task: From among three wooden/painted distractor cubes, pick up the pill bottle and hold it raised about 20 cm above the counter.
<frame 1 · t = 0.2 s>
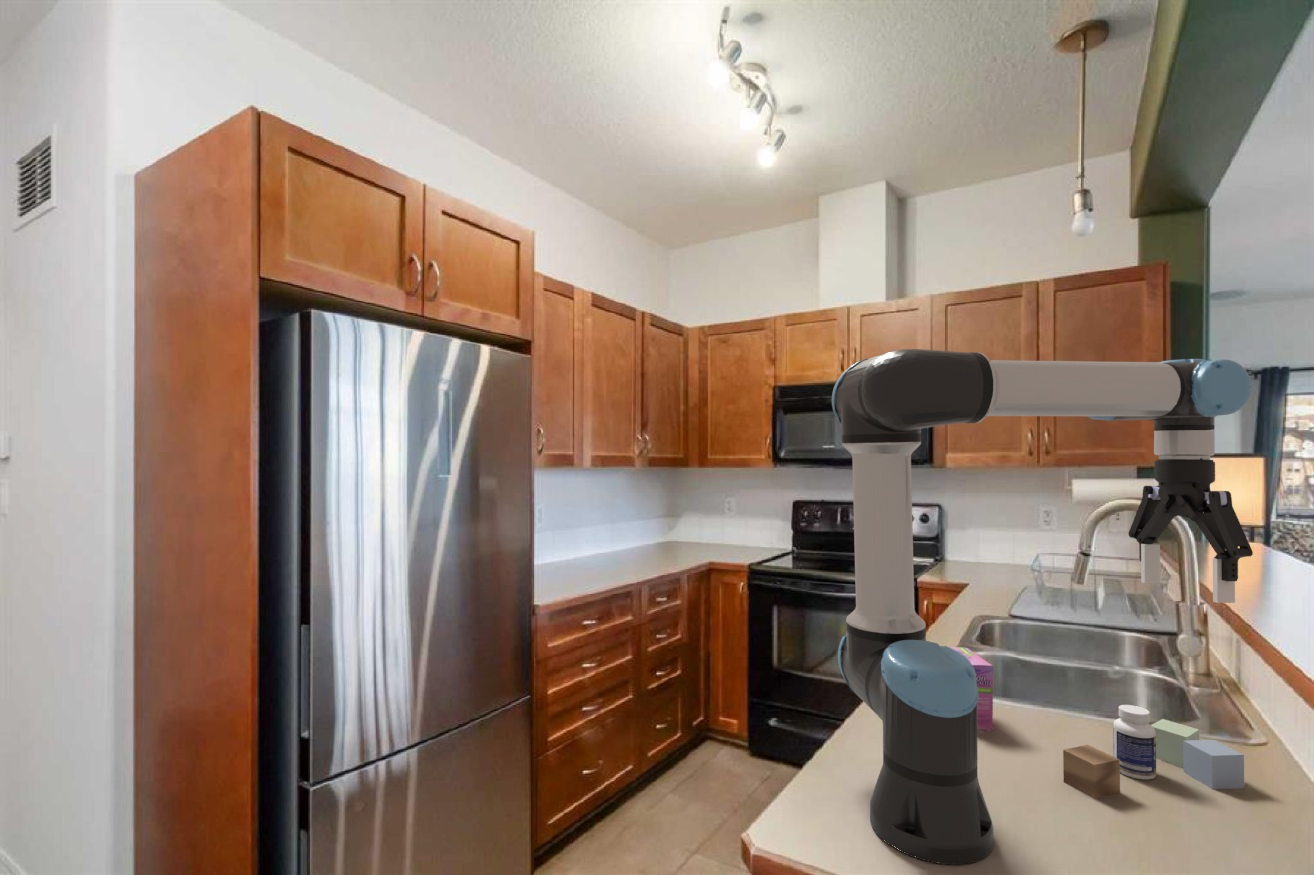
hand: (1184, 592, 104), 28 cm above the counter, fingers open, 13 cm apart
pill bottle: (1134, 773, 103), on the counter
sage cube: (1174, 758, 107), on the counter
walnut cube: (1091, 788, 98), on the counter
box: (964, 719, 123), on the counter
slate blue cube: (1213, 780, 100), on the counter
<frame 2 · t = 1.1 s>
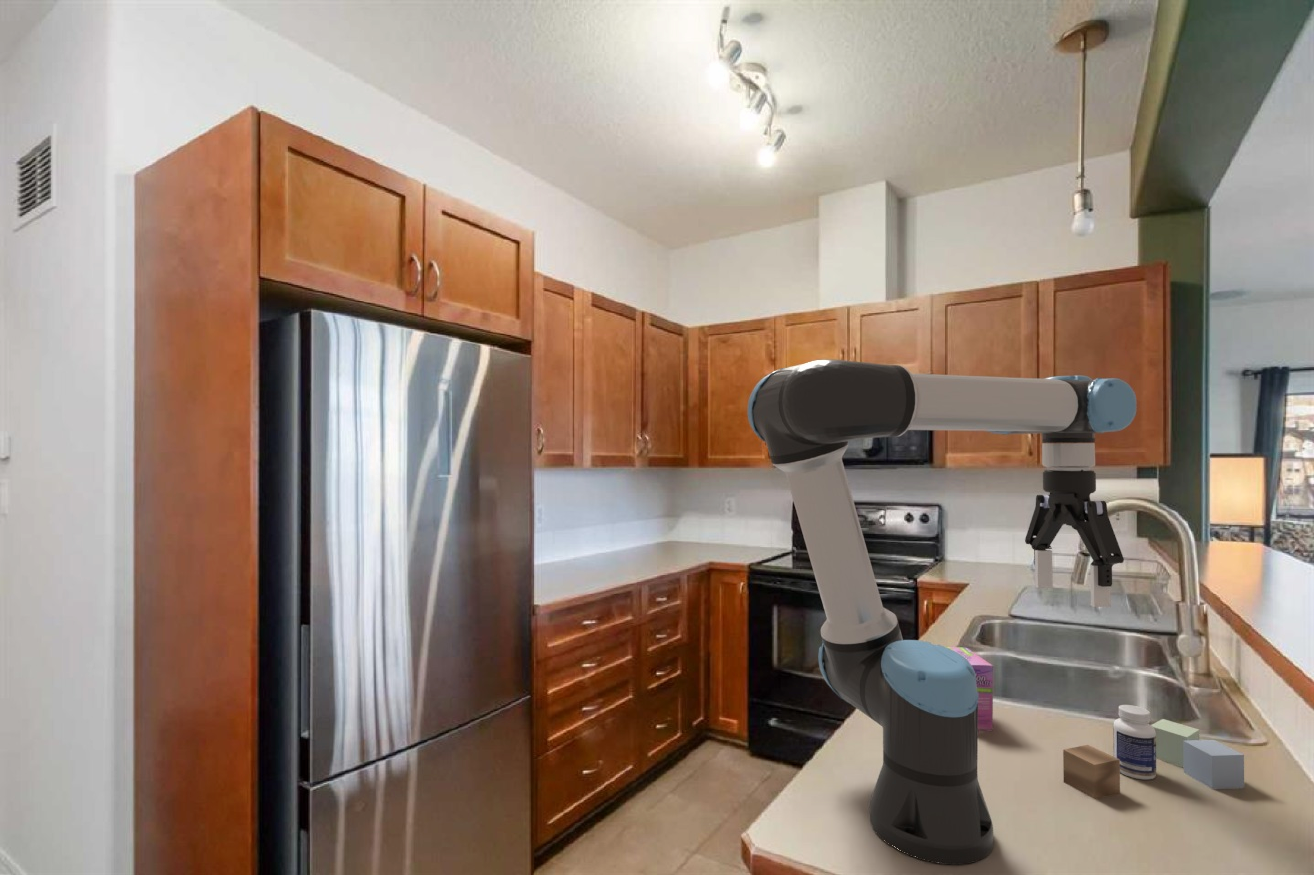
hand: (1070, 596, 110), 26 cm above the counter, fingers open, 13 cm apart
nothing on the counter moved.
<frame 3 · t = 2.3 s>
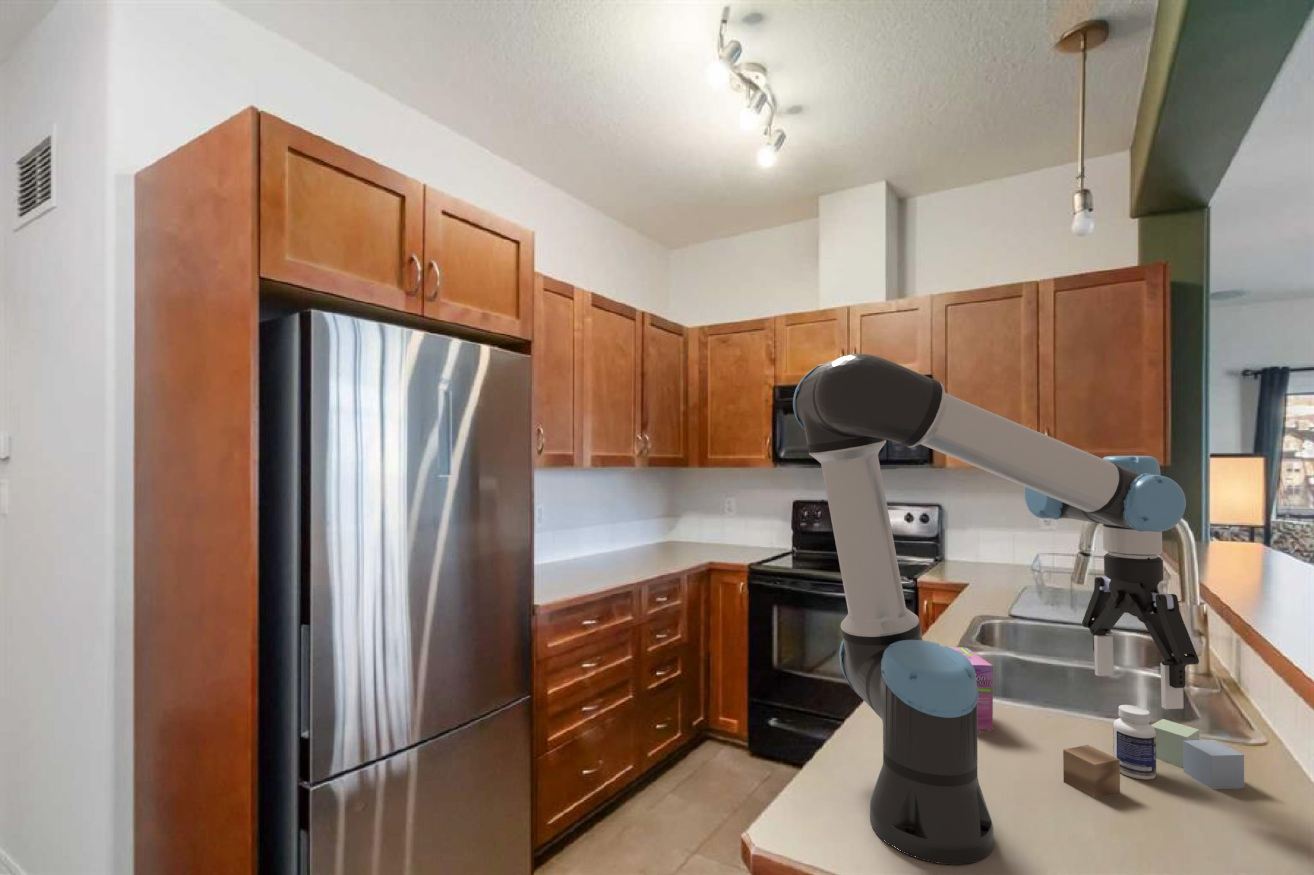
hand: (1136, 690, 103), 13 cm above the counter, fingers open, 13 cm apart
nothing on the counter moved.
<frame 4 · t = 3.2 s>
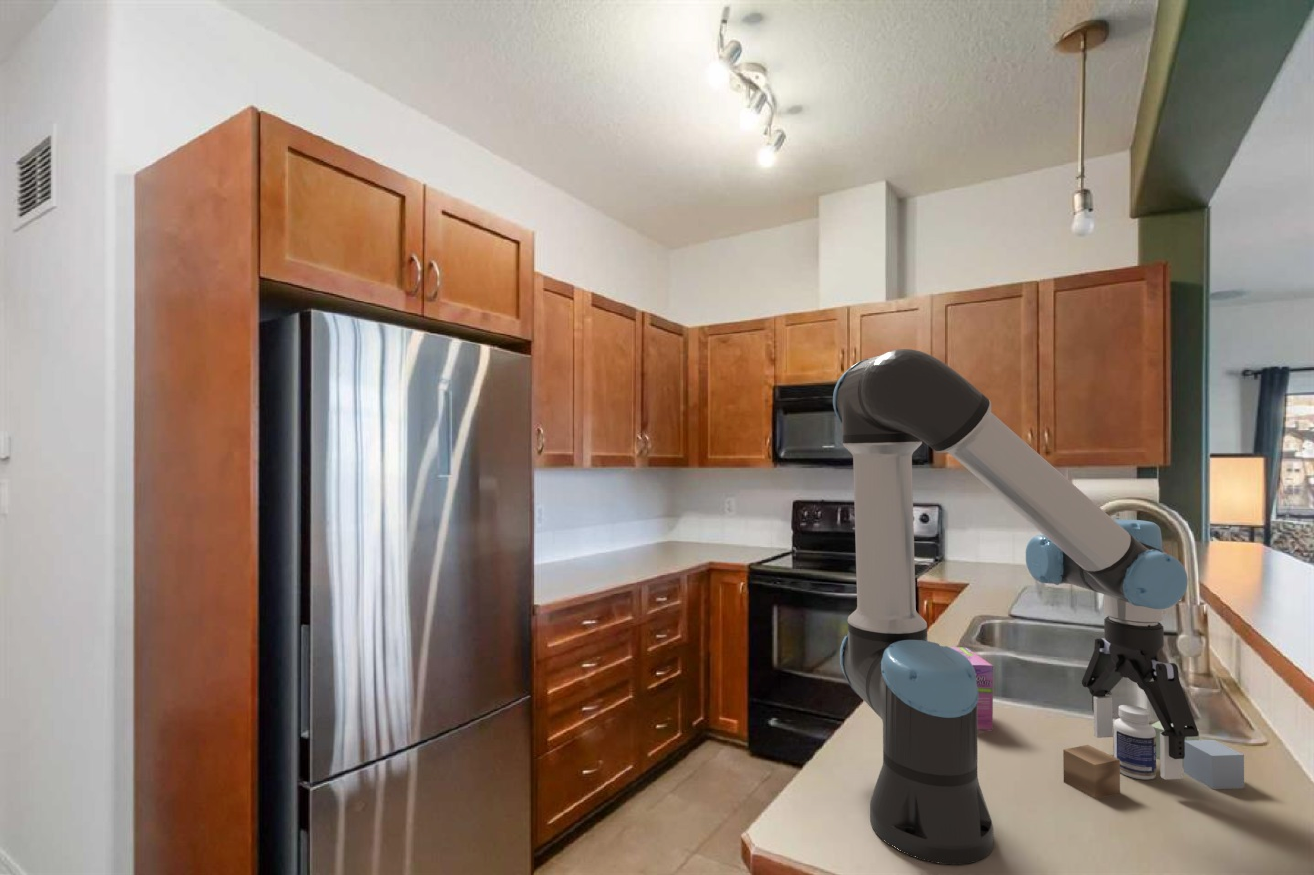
hand: (1135, 756, 103), 2 cm above the counter, fingers open, 13 cm apart
nothing on the counter moved.
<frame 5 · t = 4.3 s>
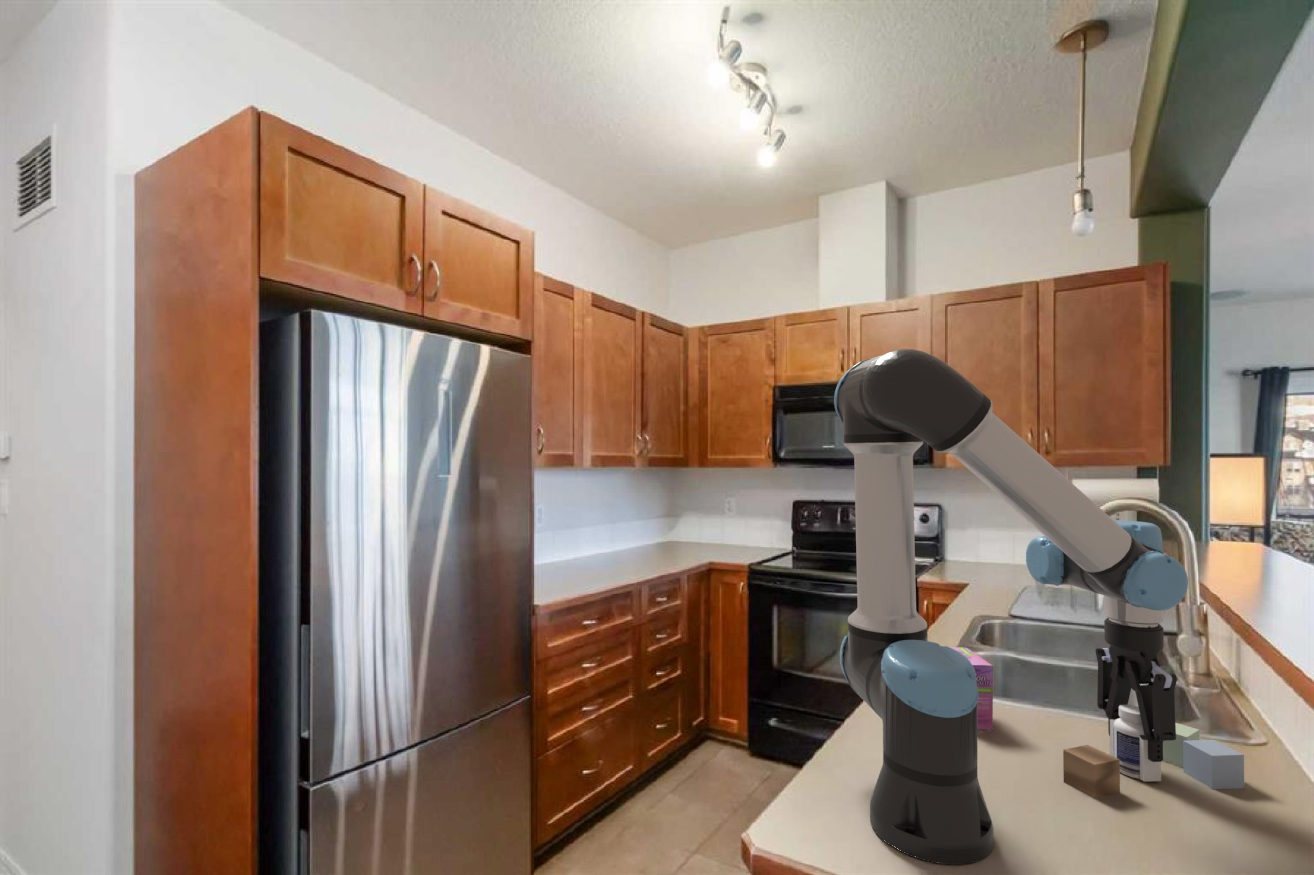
hand: (1134, 769, 103), 0 cm above the counter, fingers closed on pill bottle, 5 cm apart
pill bottle: (1134, 773, 103), on the counter, touching gripper
everything else where it was.
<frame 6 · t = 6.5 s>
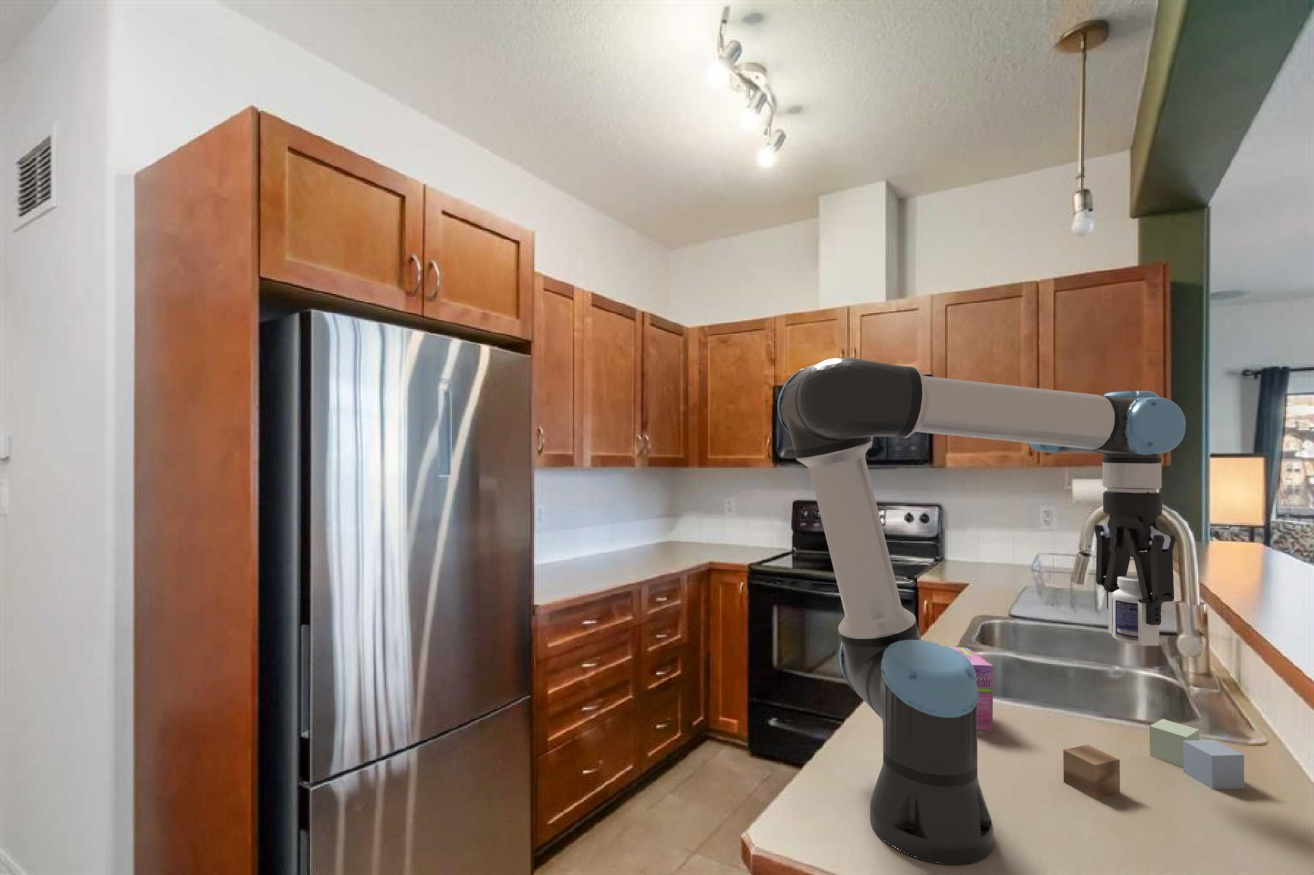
hand: (1133, 638, 103), 21 cm above the counter, fingers closed on pill bottle, 5 cm apart
pill bottle: (1133, 642, 103), point 20 cm above the counter, touching gripper
everything else where it was.
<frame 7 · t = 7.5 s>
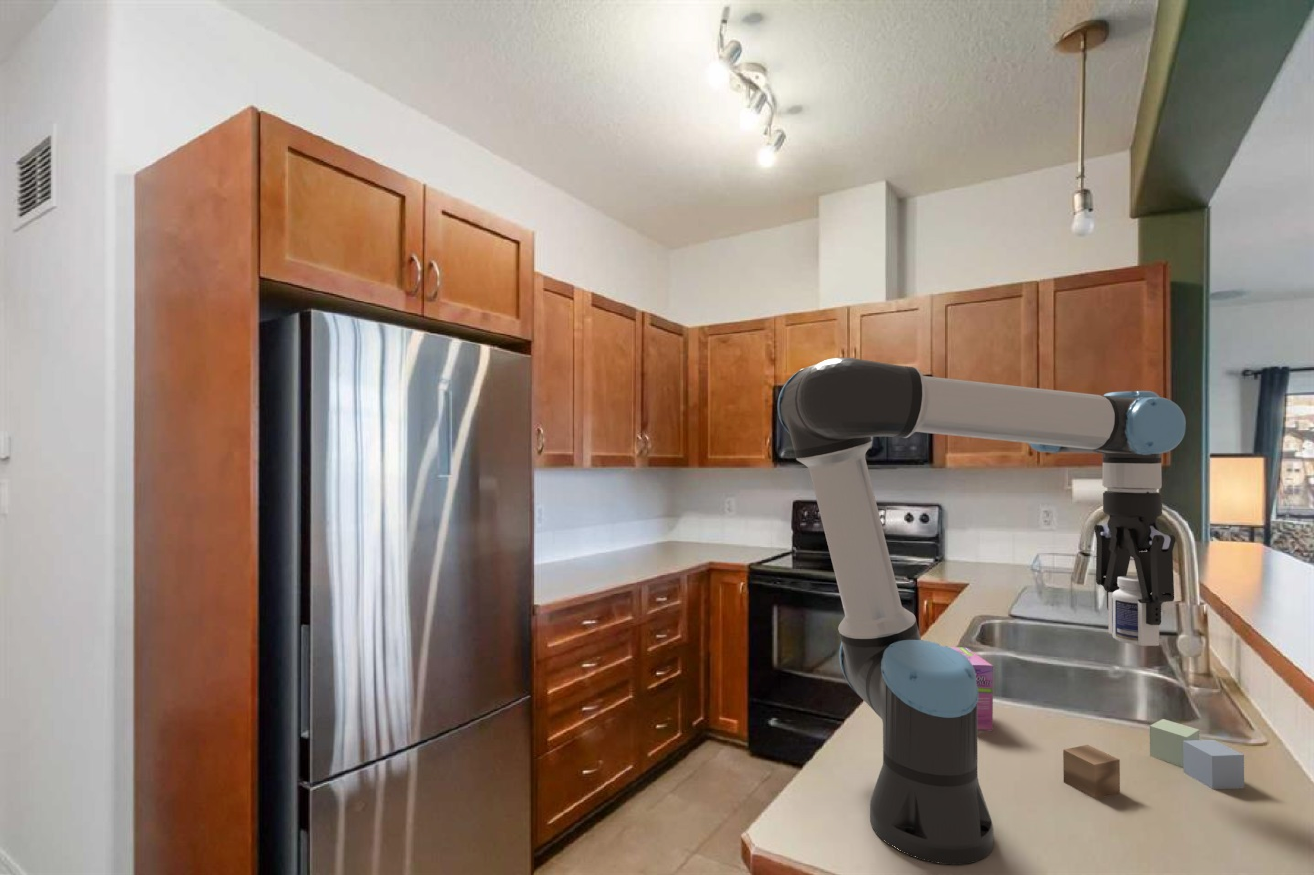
hand: (1133, 638, 103), 21 cm above the counter, fingers closed on pill bottle, 5 cm apart
pill bottle: (1133, 642, 103), point 20 cm above the counter, touching gripper
everything else where it was.
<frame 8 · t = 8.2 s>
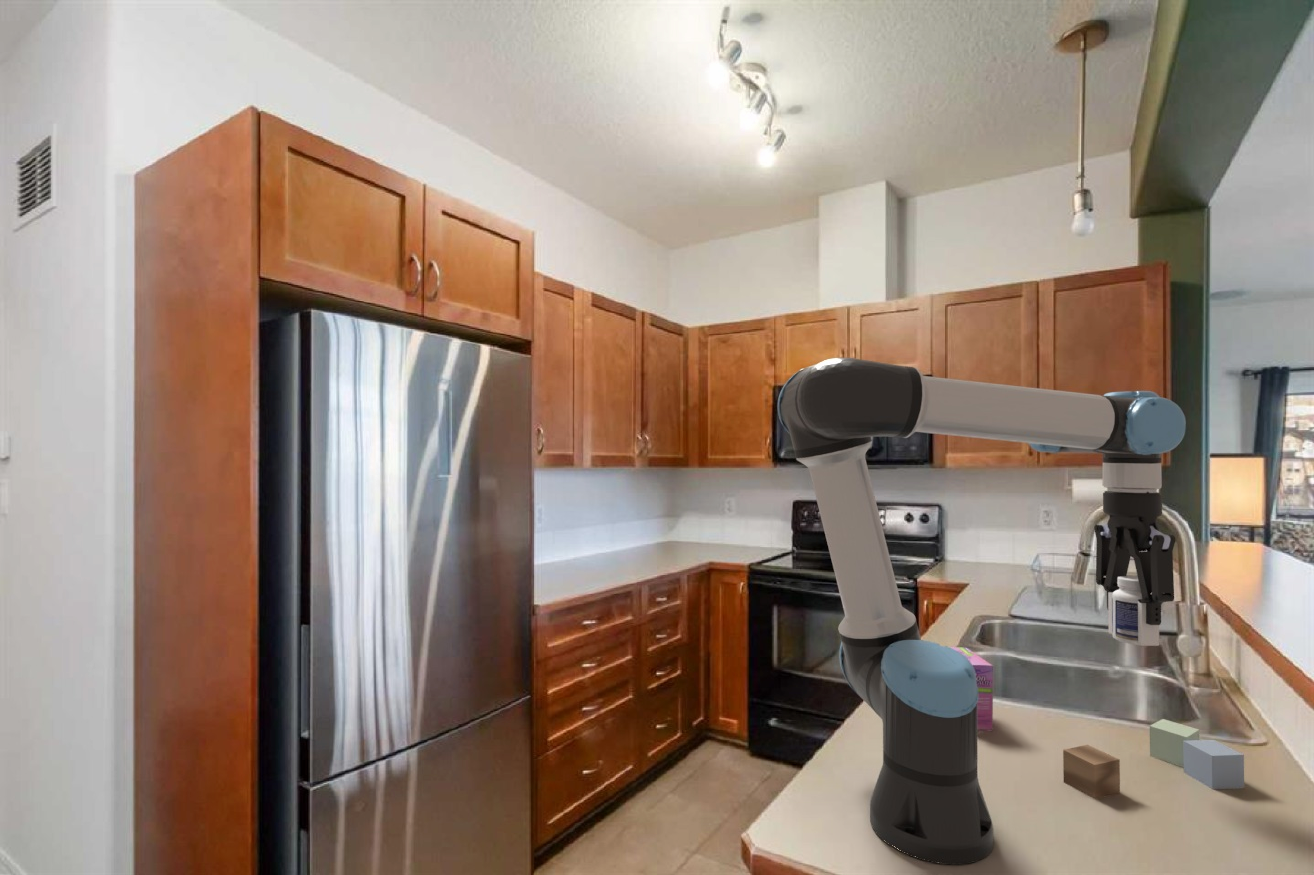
hand: (1133, 638, 103), 21 cm above the counter, fingers closed on pill bottle, 5 cm apart
pill bottle: (1133, 642, 103), point 20 cm above the counter, touching gripper
everything else where it was.
at the end: the gripper is holding pill bottle; pill bottle point 20.2 cm above the counter; sage cube moved 0.1 cm from its start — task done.
